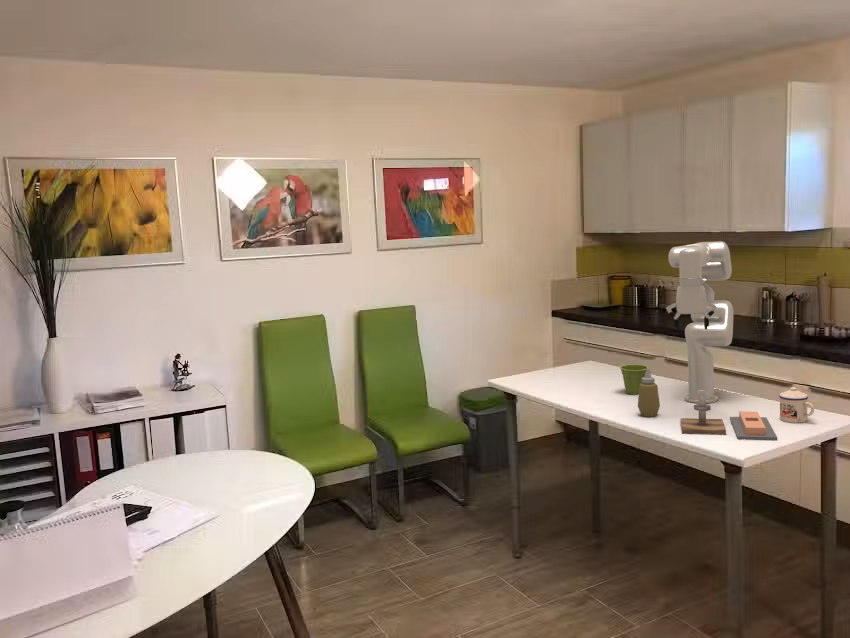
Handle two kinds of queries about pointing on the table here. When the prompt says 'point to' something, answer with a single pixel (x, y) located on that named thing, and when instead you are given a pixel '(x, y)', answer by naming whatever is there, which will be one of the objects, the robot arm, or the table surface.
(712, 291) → the robot arm
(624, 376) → the plant pot
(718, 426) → the stand
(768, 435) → the mat
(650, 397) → the squeeze bottle
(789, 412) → the teacup with lid
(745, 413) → the link
